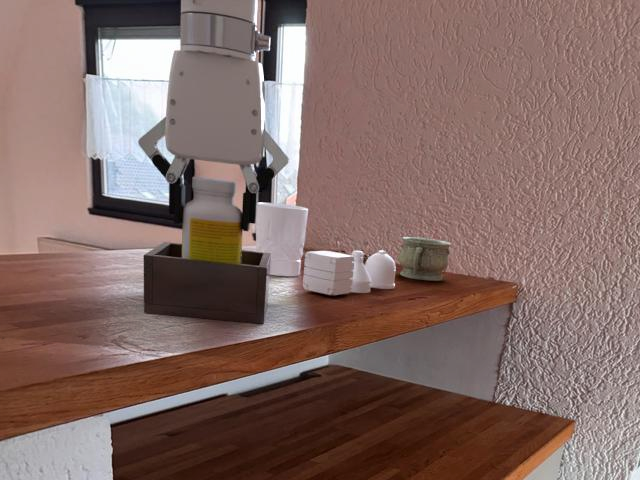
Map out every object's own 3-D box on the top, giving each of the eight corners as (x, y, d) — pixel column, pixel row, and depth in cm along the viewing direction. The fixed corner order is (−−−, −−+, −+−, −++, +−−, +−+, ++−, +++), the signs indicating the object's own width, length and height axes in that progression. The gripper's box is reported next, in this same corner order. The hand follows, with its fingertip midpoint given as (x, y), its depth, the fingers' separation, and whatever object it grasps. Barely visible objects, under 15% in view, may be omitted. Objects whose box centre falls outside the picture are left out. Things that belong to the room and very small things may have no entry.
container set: (333, 298, 99) (337, 257, 97) (301, 291, 101) (304, 251, 99) (400, 287, 115) (405, 251, 113) (371, 281, 118) (375, 246, 115)
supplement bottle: (249, 304, 84) (255, 184, 79) (194, 304, 80) (198, 179, 75) (224, 292, 89) (229, 179, 84) (172, 292, 85) (173, 173, 80)
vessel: (438, 284, 123) (443, 245, 121) (388, 276, 125) (393, 238, 123) (452, 277, 134) (457, 241, 131) (406, 270, 136) (410, 234, 133)
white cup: (243, 271, 113) (246, 202, 109) (267, 267, 119) (271, 202, 115) (289, 279, 110) (294, 209, 106) (311, 274, 117) (316, 208, 113)
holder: (143, 312, 78) (143, 254, 76) (163, 292, 90) (164, 241, 88) (263, 324, 80) (267, 267, 77) (268, 302, 91) (271, 253, 89)
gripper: (303, 58, 79) (290, 231, 86) (138, 35, 77) (139, 215, 84) (303, 49, 72) (290, 238, 79) (122, 23, 70) (125, 220, 77)
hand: (212, 224), depth 81 cm, fingers closed on supplement bottle, 6 cm apart
